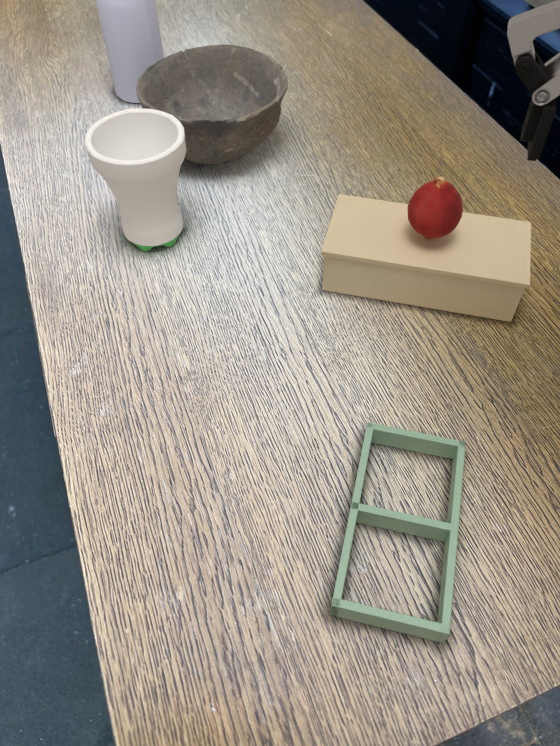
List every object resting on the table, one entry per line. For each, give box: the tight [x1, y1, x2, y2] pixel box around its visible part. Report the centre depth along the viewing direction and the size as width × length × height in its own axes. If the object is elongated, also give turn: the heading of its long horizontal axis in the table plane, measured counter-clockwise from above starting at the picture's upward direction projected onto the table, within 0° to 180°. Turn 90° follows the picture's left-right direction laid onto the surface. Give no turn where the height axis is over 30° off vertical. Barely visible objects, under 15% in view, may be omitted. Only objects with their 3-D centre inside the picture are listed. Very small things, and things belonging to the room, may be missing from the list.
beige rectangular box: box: [320, 193, 532, 323], centre depth 76 cm, size 23×11×6 cm, turn 76°
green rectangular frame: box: [329, 421, 467, 644], centre depth 58 cm, size 9×18×2 cm, turn 166°
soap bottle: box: [94, 0, 165, 104], centre depth 96 cm, size 9×9×24 cm
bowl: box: [136, 43, 289, 165], centre depth 92 cm, size 21×21×10 cm
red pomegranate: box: [407, 176, 464, 239], centre depth 70 cm, size 6×6×8 cm
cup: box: [84, 107, 186, 252], centre depth 78 cm, size 11×11×14 cm
